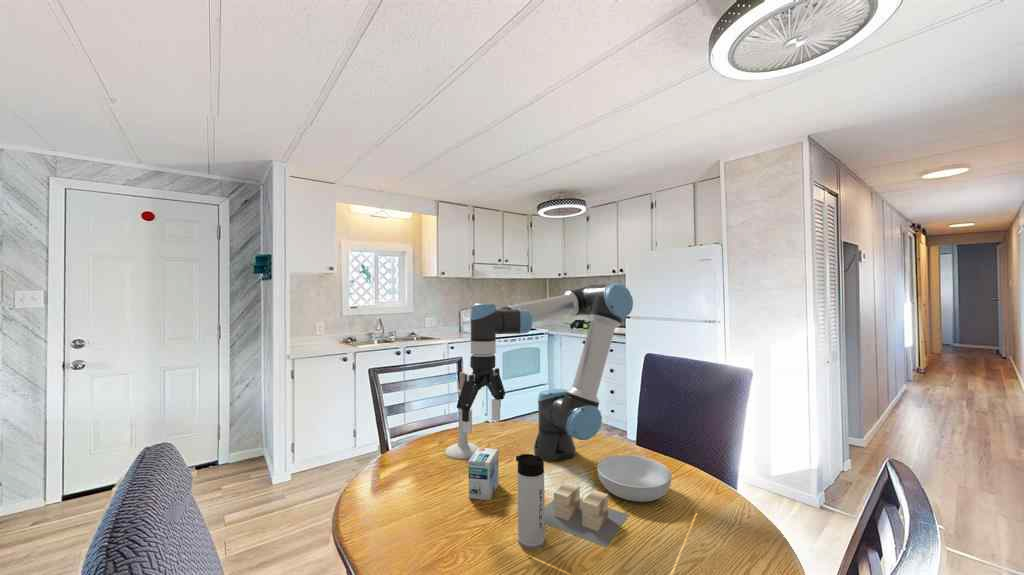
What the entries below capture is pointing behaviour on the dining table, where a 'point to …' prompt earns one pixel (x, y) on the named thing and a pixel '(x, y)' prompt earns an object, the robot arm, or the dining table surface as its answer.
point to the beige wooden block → (566, 501)
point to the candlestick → (461, 436)
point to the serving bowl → (634, 477)
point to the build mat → (577, 529)
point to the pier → (595, 510)
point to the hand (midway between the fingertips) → (482, 426)
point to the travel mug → (531, 501)
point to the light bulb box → (483, 473)
